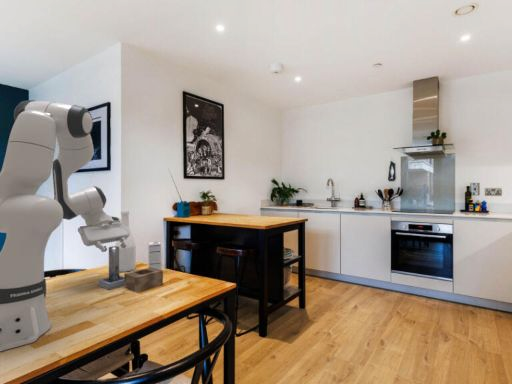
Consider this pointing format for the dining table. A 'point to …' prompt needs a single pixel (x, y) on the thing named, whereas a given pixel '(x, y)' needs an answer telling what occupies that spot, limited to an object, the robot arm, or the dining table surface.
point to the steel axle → (113, 264)
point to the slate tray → (113, 285)
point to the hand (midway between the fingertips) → (115, 248)
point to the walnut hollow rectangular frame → (143, 279)
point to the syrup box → (154, 255)
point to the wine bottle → (126, 248)
